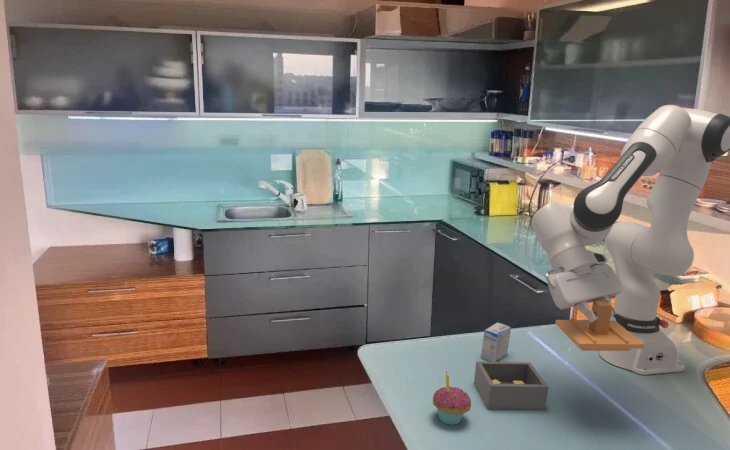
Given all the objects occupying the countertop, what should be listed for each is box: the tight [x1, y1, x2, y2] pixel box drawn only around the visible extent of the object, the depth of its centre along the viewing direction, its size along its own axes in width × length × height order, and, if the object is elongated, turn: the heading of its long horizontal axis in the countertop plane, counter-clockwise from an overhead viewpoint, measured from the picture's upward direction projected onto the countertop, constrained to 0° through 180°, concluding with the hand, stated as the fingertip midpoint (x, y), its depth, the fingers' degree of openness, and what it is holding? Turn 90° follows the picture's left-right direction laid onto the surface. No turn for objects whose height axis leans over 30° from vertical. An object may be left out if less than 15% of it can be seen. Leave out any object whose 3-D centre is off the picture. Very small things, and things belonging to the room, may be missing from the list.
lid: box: [554, 301, 644, 352], centre depth 130 cm, size 15×13×10 cm
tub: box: [473, 361, 549, 411], centre depth 139 cm, size 14×12×6 cm
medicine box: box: [480, 322, 512, 362], centre depth 160 cm, size 8×4×9 cm, turn 141°
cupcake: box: [432, 370, 472, 426], centre depth 127 cm, size 9×8×12 cm
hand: (602, 319), depth 130 cm, fingers closed on lid, 4 cm apart
